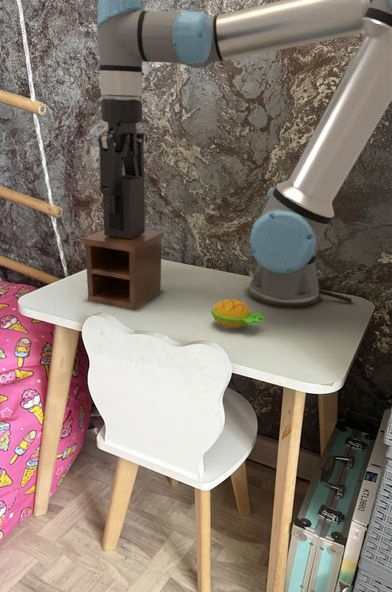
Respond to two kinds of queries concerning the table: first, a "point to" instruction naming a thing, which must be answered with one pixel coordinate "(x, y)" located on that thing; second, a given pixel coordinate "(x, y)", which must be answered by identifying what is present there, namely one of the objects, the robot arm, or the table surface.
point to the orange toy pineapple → (234, 314)
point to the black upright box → (128, 208)
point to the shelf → (123, 268)
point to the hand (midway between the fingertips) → (124, 225)
